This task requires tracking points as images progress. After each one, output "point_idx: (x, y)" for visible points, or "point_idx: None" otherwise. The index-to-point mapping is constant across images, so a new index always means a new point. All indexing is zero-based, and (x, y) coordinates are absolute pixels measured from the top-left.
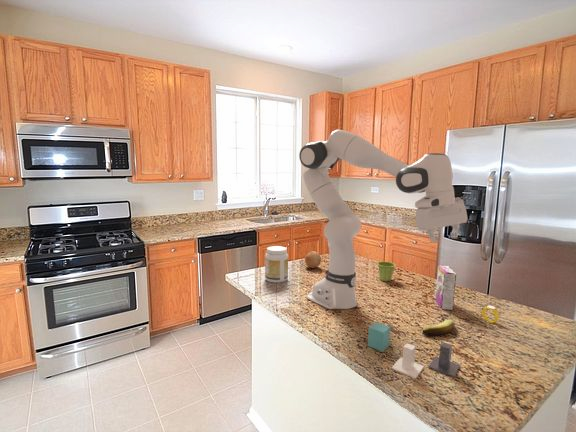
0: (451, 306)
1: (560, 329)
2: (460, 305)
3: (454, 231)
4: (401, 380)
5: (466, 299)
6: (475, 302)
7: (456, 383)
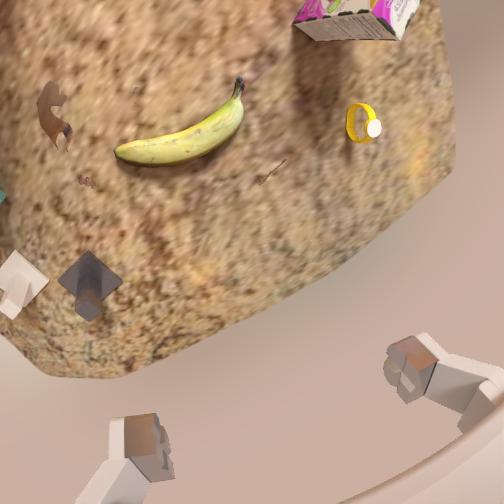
0: (318, 38)
1: (419, 187)
2: None
3: (437, 384)
4: None
5: None
6: None
7: None
